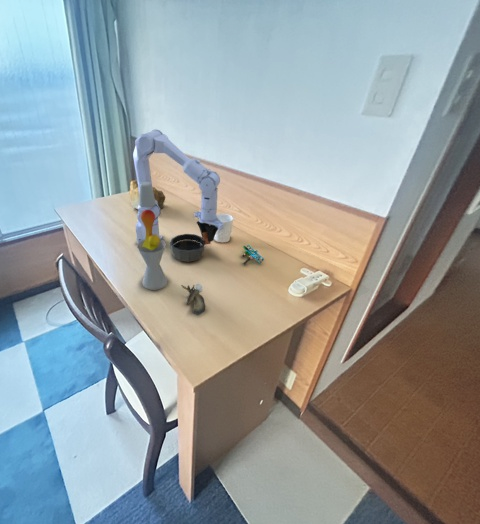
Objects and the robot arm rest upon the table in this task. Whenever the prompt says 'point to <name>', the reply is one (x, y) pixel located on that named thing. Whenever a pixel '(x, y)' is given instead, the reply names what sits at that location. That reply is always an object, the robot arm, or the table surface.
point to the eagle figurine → (196, 298)
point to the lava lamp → (151, 242)
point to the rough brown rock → (135, 195)
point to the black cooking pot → (188, 246)
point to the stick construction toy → (251, 254)
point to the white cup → (224, 233)
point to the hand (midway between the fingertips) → (207, 239)
